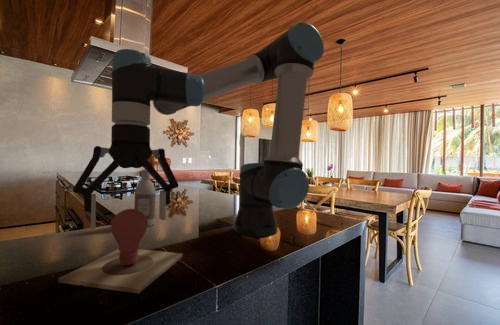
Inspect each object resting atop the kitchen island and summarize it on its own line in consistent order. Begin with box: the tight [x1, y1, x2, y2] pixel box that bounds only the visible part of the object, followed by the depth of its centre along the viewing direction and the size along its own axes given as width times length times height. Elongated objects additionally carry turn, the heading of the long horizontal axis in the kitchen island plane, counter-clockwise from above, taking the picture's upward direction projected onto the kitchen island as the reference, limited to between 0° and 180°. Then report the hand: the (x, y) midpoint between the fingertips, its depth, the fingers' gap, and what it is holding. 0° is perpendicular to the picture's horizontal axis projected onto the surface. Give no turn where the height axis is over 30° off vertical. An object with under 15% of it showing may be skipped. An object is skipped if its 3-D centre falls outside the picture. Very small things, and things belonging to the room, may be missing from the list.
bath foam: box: [134, 169, 157, 228], centre depth 88 cm, size 7×7×20 cm
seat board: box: [58, 248, 184, 294], centre depth 53 cm, size 17×17×1 cm
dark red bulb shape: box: [110, 208, 148, 265], centre depth 53 cm, size 7×7×12 cm
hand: (130, 222), depth 53 cm, fingers open, 13 cm apart
